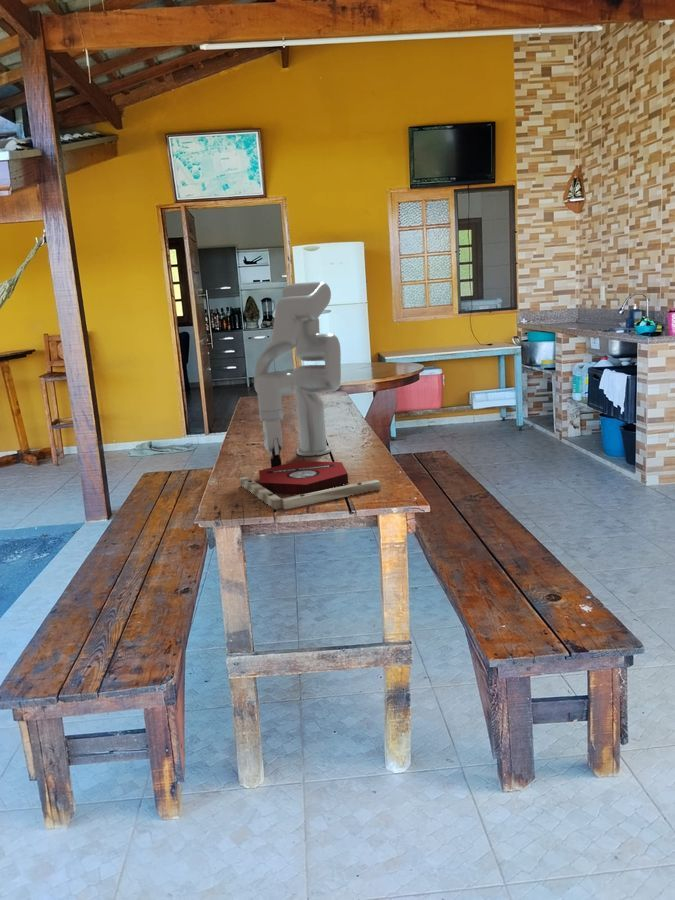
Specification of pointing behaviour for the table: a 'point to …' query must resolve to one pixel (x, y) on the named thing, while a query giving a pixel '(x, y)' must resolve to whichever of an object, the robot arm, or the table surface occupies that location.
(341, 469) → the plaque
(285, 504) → the corner rail
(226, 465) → the table surface
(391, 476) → the table surface
